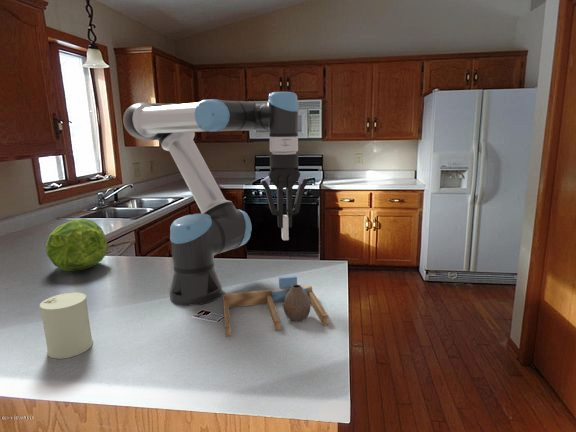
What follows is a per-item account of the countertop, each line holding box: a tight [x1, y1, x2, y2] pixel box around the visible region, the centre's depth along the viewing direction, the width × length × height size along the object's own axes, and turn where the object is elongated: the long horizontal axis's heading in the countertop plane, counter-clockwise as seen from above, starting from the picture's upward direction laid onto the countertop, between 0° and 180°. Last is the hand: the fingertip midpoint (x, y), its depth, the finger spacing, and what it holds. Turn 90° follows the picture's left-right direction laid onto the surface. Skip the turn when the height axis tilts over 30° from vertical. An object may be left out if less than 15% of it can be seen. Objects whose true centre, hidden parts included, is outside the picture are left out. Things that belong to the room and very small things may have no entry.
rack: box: [222, 285, 329, 337], centre depth 104 cm, size 25×17×4 cm
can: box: [39, 291, 94, 360], centre depth 90 cm, size 9×9×12 cm
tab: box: [278, 275, 298, 289], centre depth 114 cm, size 5×1×6 cm, turn 100°
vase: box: [282, 283, 312, 323], centre depth 101 cm, size 7×7×9 cm
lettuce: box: [45, 218, 109, 272], centre depth 144 cm, size 19×23×18 cm
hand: (285, 238), depth 111 cm, fingers closed
